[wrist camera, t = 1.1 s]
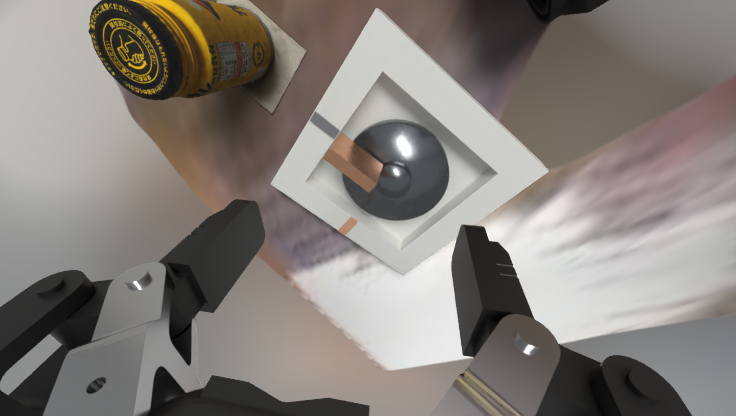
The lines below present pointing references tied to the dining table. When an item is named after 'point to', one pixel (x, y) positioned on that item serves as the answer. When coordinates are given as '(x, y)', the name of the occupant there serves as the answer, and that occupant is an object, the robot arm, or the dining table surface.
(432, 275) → the dining table surface
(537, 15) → the digital camera
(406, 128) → the dial
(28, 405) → the robot arm
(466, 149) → the panel
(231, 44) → the condiment
